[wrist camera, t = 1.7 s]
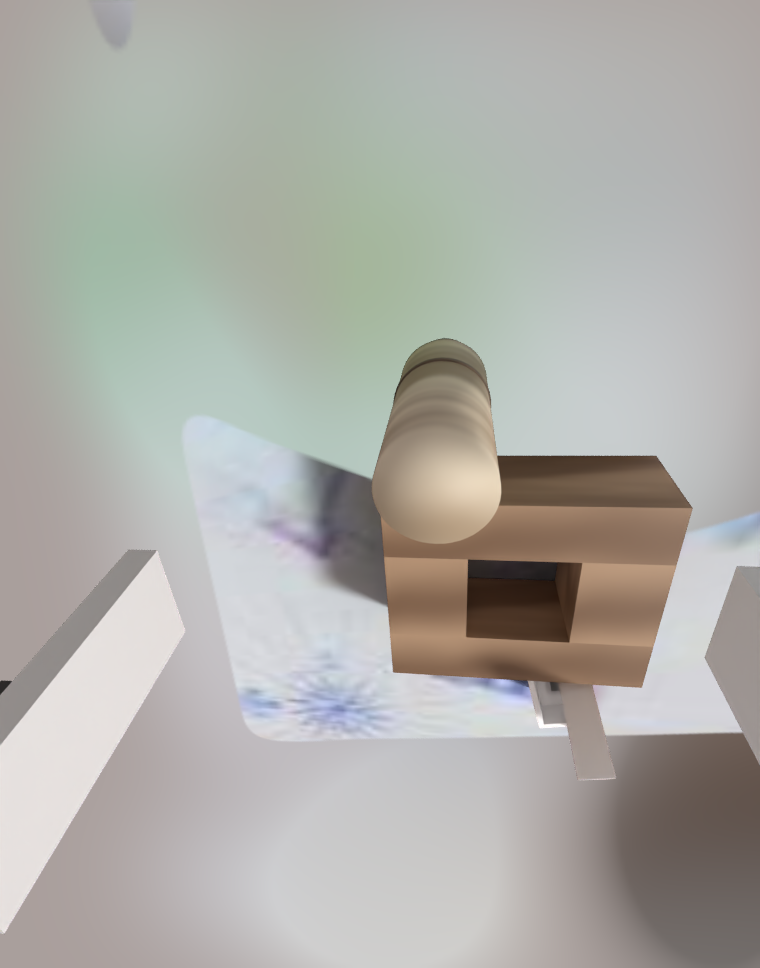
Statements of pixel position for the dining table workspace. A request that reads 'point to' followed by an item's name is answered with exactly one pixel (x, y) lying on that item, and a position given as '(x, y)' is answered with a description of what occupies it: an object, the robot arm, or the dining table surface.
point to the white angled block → (575, 724)
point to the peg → (439, 448)
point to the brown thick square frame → (541, 603)
